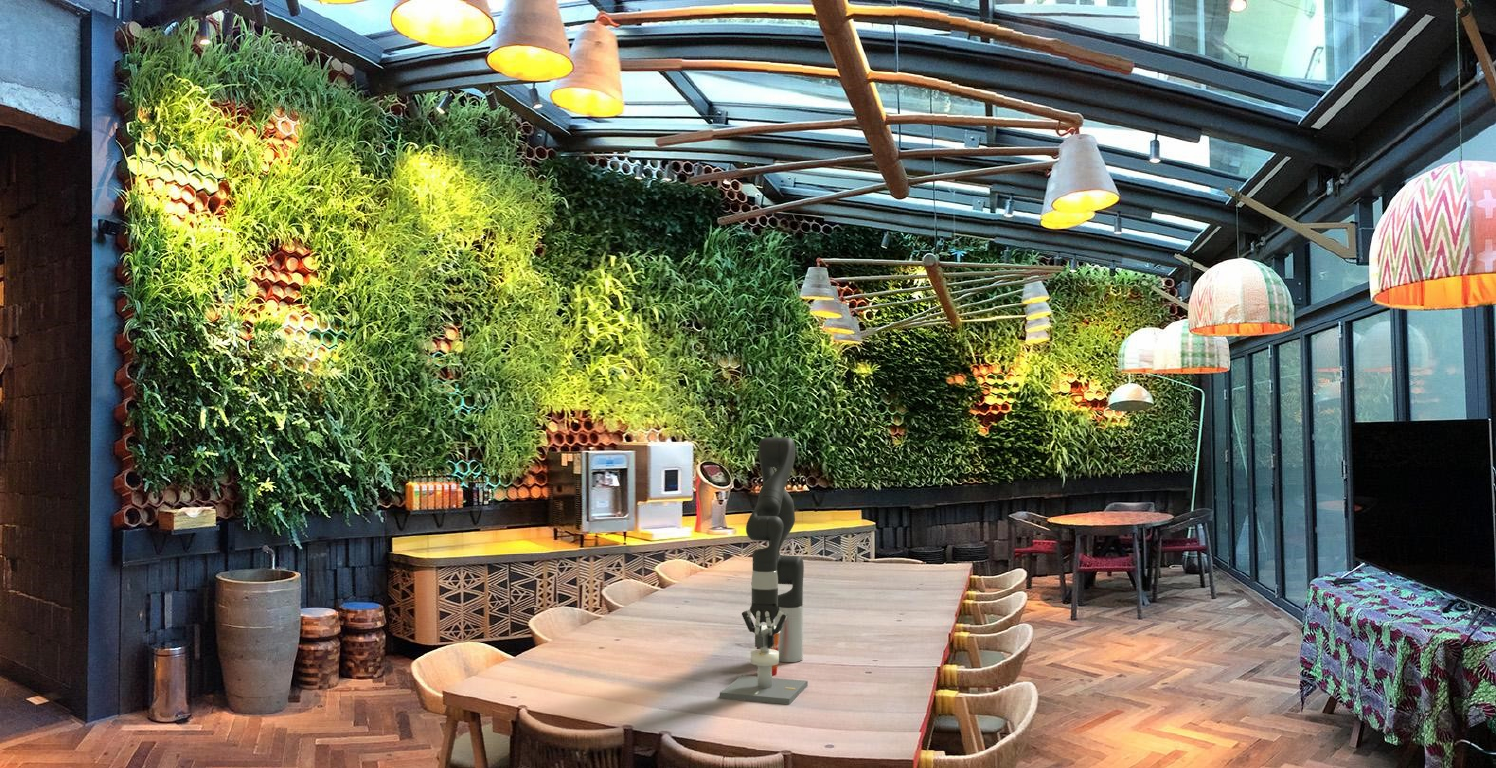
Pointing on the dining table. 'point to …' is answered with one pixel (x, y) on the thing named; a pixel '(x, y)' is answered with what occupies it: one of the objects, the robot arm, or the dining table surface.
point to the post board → (764, 688)
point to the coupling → (764, 651)
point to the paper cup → (773, 647)
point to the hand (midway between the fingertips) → (764, 647)
